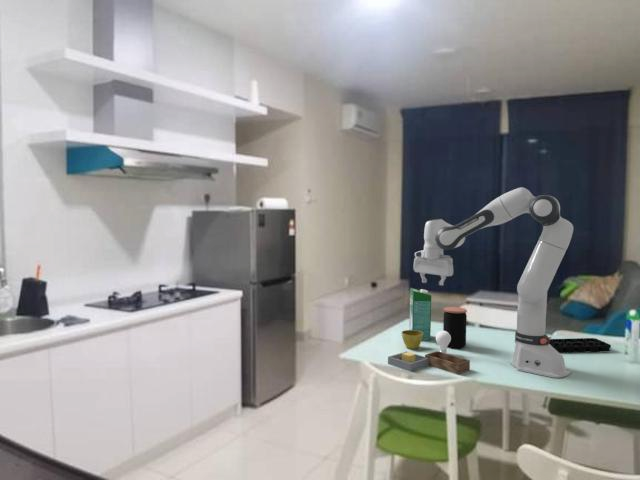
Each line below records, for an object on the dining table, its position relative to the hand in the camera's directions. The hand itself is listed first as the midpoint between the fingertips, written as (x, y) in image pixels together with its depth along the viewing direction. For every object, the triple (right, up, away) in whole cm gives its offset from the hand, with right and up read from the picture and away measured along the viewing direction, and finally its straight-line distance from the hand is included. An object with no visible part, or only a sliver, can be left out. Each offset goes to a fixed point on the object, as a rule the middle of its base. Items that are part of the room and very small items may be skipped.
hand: (432, 283), depth 220 cm
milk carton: (-1, -30, +23) cm, 38 cm away
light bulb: (+3, -32, -5) cm, 32 cm away
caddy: (0, -33, -24) cm, 40 cm away
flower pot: (-8, -31, +6) cm, 33 cm away
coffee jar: (+12, -31, +9) cm, 34 cm away
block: (-15, -32, -21) cm, 41 cm away
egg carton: (+69, -32, +6) cm, 77 cm away
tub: (-15, -32, -21) cm, 41 cm away
